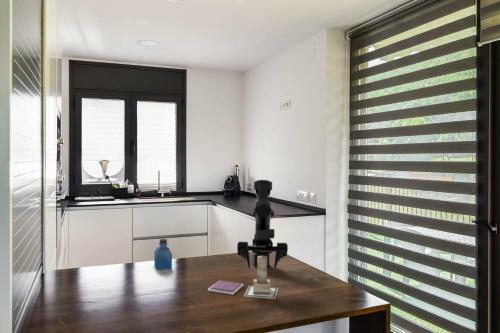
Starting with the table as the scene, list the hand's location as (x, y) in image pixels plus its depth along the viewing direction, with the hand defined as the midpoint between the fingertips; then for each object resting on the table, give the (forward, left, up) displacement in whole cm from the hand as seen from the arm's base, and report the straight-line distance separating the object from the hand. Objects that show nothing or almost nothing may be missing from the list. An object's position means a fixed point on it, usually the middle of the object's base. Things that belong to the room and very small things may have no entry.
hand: (262, 269), depth 140 cm
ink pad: (+11, -7, -8) cm, 16 cm away
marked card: (0, +1, -8) cm, 8 cm away
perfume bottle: (+30, -41, -8) cm, 51 cm away
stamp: (0, 0, -8) cm, 8 cm away
